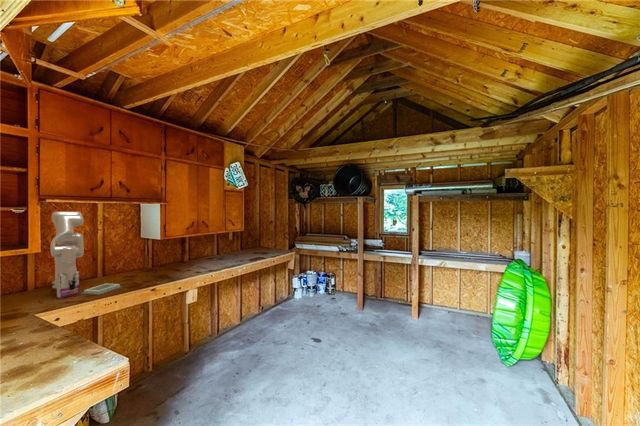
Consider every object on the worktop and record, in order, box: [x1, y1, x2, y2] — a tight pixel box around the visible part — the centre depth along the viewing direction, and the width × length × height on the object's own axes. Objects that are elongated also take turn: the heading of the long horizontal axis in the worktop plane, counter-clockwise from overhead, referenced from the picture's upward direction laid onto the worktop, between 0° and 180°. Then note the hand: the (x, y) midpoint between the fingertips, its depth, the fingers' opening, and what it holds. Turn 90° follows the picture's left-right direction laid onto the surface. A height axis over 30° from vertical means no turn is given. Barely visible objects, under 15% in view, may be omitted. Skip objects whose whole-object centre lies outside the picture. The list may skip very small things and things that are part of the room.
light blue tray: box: [83, 283, 121, 294], centre depth 200 cm, size 12×18×2 cm, turn 175°
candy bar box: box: [56, 271, 80, 299], centre depth 188 cm, size 11×5×16 cm, turn 161°
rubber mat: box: [79, 285, 124, 296], centre depth 200 cm, size 16×20×1 cm
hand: (68, 289), depth 188 cm, fingers closed on candy bar box, 5 cm apart
